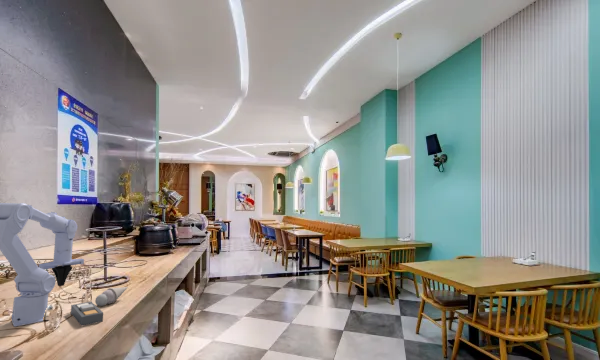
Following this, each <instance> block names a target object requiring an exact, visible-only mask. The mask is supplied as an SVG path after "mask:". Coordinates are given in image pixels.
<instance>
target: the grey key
mask: <svg viewBox="0 0 600 360" xmlns="http://www.w3.org/2000/svg"><path fill="white" fill-rule="evenodd" d="M93 309H94V306H93V305H92V304H88V305H83V306H80V310H81V311H87V310H93Z"/></svg>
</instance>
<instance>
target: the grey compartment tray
mask: <svg viewBox="0 0 600 360" xmlns="http://www.w3.org/2000/svg"><path fill="white" fill-rule="evenodd" d="M85 303H88V304H92V305H93V306H94V309H93V310H96V311H97V312H98V313H95V314H90V315H84V314H83V312H86V311H81V310H80V308H77V305H79V304H85ZM87 311H91V310H87ZM70 314H71V316H73V318H74V319H75V320H76V321H77V322H78V324H79V325H80V326H81V327H84V326H88V325H93V324H96V323H101V322H103V321H104V312H103V310H101V309H100V308H99V306H98V305H97V304H96V305H95V304H94V302H93V301H86V302H82V303H81V302H80V303H76V304H71V306H70Z"/></svg>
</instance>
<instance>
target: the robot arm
mask: <svg viewBox="0 0 600 360" xmlns="http://www.w3.org/2000/svg"><path fill="white" fill-rule="evenodd" d="M28 220H31V221H35V222H38V223H39V225H40V227H42V228H44V229H47V230H50V231H52V233H53V234H55V236H54V249H53V252H54V253H53V261H50V262H45V263H39V264H37V263H36V261H35V260H34V258H33V257H32V255H31V254H30V252H29V250H28V249H27V248H26V245H24V243H23V241H22V240H21V238H20V237H19V236H18V234H19V233H21V232H22V230H23V229H24V227H25V226H26V224H27V222H28ZM78 227H79V226H78V224H77V222H76V221H75V219H69V218H68V219H67V218H66V217H65V216H64V215H63V216H60V215H58V213H57V212H55V211H51V212H43V211H41V210H40V209H37V208H35V207H33V205H32V204H27V203H26V202H20V203H18V202H17V203H16V202H15V203H14V202H0V251H1V253H2V255H3V256H4V258H5V259H6V261H7V262H8V264H10V265H11V268H13V270H14V271H15V273H16V274H17V275H16V276H15V278H14V280H13V281H14V282H15V285H16V287H15V288H16V290H17V292H19V296H15V297H14V298H13V303H12V304H13V305H12V314H11V322H12V325H13V327H15V328H16V327H20V326H24V325H30V324H34V323H40V322H41V323H42V322H44V321H43V317H44V313H45V310H46V308H47V309H48V305H49V303H48V301H49V294H50V293H51V292H52V291H53V289H54V288H55V286H56V283H57V286H58V287H64V286H65V283H66V280H67V277H68V276H69V274H70V272H71V271H72V270H73V266H76V265H84V264H85V259H84V258H74V259H73V258H72V257H73V244H74V238H75V237H76V233H77V230H78ZM49 269H51V270H52V272H53V274H54V275H52V274H51V273H49V272H48V271H47V270H49Z"/></svg>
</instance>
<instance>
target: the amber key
mask: <svg viewBox="0 0 600 360" xmlns="http://www.w3.org/2000/svg"><path fill="white" fill-rule="evenodd" d="M95 313H98V312H97V311H96V310H91V311H86V312H83V314H84V315H90V314H95Z"/></svg>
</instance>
